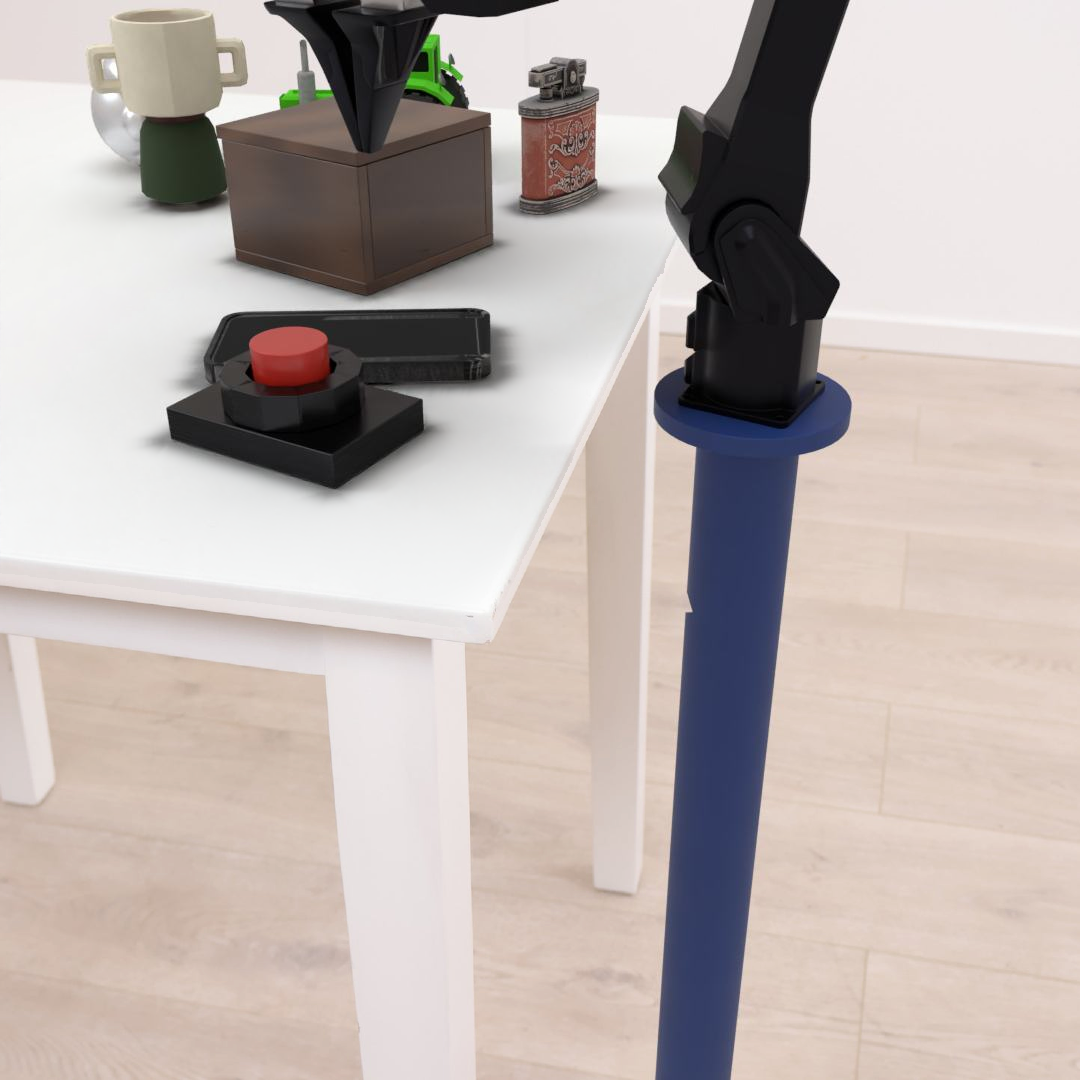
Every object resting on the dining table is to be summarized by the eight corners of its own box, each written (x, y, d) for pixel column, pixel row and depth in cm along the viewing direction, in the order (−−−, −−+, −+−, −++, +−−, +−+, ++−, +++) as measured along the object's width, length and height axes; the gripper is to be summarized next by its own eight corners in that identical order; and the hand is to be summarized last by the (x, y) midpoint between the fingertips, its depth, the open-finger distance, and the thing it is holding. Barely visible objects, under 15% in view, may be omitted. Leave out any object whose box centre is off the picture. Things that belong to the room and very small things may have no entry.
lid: (216, 138, 82) (215, 125, 82) (355, 102, 91) (354, 90, 90) (357, 166, 76) (356, 152, 75) (491, 125, 85) (491, 112, 84)
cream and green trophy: (257, 182, 102) (237, 3, 95) (264, 207, 96) (244, 19, 89) (112, 192, 99) (81, 10, 93) (110, 219, 94) (77, 26, 87)
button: (346, 369, 62) (343, 335, 61) (297, 396, 59) (293, 361, 59) (287, 354, 64) (283, 321, 63) (237, 380, 61) (232, 345, 60)
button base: (425, 430, 64) (421, 363, 62) (335, 489, 58) (328, 418, 57) (267, 388, 68) (259, 324, 66) (170, 439, 63) (159, 371, 61)
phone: (490, 361, 68) (199, 365, 67) (491, 381, 68) (202, 385, 68) (490, 307, 75) (225, 310, 74) (490, 325, 75) (227, 329, 75)
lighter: (570, 184, 101) (571, 48, 96) (607, 190, 100) (610, 53, 94) (508, 208, 96) (506, 65, 90) (546, 216, 94) (546, 71, 89)
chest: (236, 260, 86) (221, 139, 82) (367, 214, 94) (359, 103, 90) (366, 296, 80) (357, 167, 76) (493, 244, 89) (491, 126, 85)
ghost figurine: (78, 179, 103) (53, 45, 98) (129, 149, 111) (109, 24, 106) (187, 184, 101) (168, 48, 96) (231, 153, 109) (215, 27, 104)
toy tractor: (296, 149, 111) (284, 23, 106) (488, 150, 110) (485, 24, 105) (268, 184, 101) (254, 48, 96) (478, 186, 101) (474, 50, 96)
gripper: (50, -212, 55) (112, 162, 63) (408, -209, 47) (427, 222, 55) (234, -215, 63) (268, 116, 71) (567, -212, 55) (563, 163, 63)
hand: (369, 151), depth 65 cm, fingers closed
